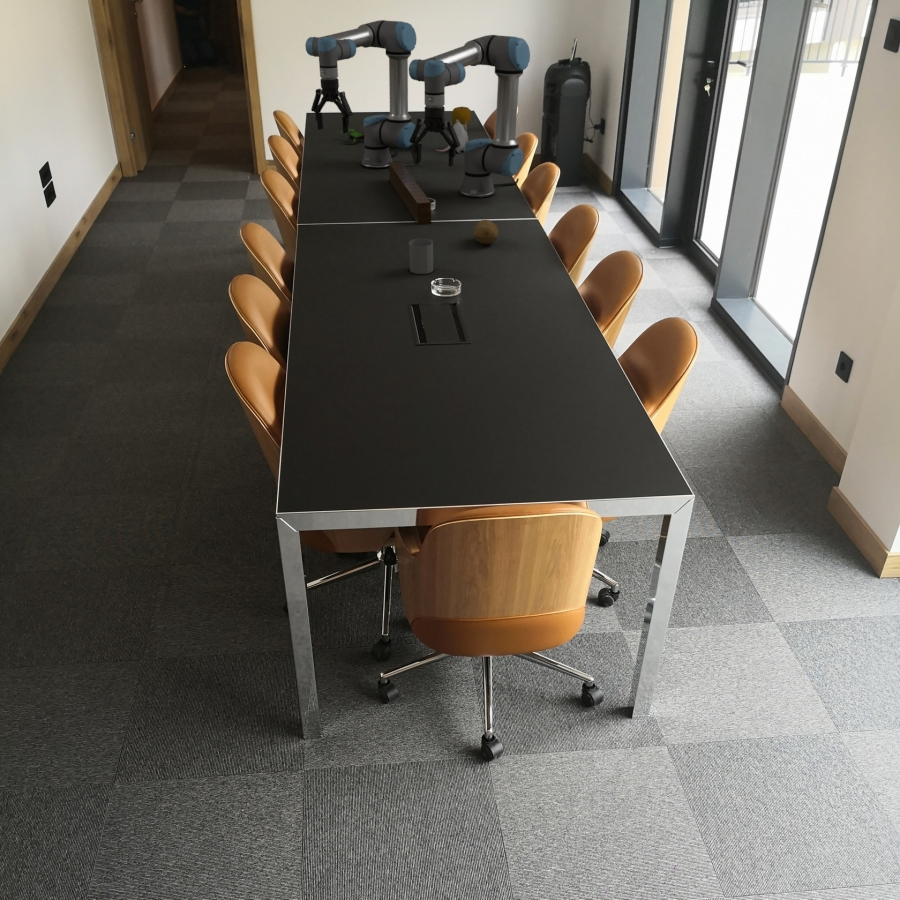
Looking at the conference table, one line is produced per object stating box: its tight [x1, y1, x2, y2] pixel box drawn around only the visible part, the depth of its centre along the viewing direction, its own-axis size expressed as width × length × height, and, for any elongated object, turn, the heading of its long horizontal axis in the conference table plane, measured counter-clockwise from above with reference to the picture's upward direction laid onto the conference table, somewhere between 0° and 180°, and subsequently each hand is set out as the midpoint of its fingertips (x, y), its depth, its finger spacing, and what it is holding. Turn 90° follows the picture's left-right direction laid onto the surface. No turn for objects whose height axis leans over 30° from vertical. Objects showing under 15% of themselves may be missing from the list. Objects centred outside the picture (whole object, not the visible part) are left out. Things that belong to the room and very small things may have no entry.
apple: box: [451, 105, 472, 129], centre depth 487 cm, size 11×11×13 cm
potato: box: [472, 219, 499, 245], centre depth 330 cm, size 10×14×8 cm
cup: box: [408, 237, 434, 275], centre depth 305 cm, size 8×8×10 cm
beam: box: [388, 161, 432, 225], centre depth 376 cm, size 65×6×9 cm, turn 14°
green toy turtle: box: [338, 128, 364, 145], centre depth 467 cm, size 6×13×30 cm
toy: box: [436, 120, 469, 154], centre depth 444 cm, size 9×24×15 cm, turn 137°
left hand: (333, 130), depth 374 cm, fingers open, 13 cm apart
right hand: (434, 163), depth 336 cm, fingers open, 13 cm apart
